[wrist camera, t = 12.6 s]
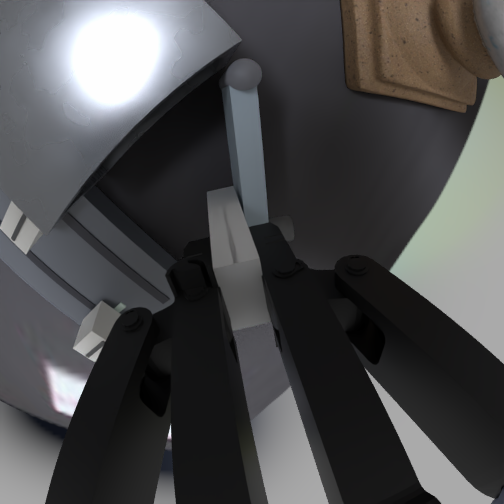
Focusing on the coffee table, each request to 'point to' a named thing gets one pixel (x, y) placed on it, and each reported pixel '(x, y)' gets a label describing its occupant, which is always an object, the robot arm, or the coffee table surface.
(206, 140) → the coffee table surface
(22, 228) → the fader
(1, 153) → the cabinet
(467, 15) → the candle holder
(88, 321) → the fader
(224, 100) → the door
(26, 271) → the console
